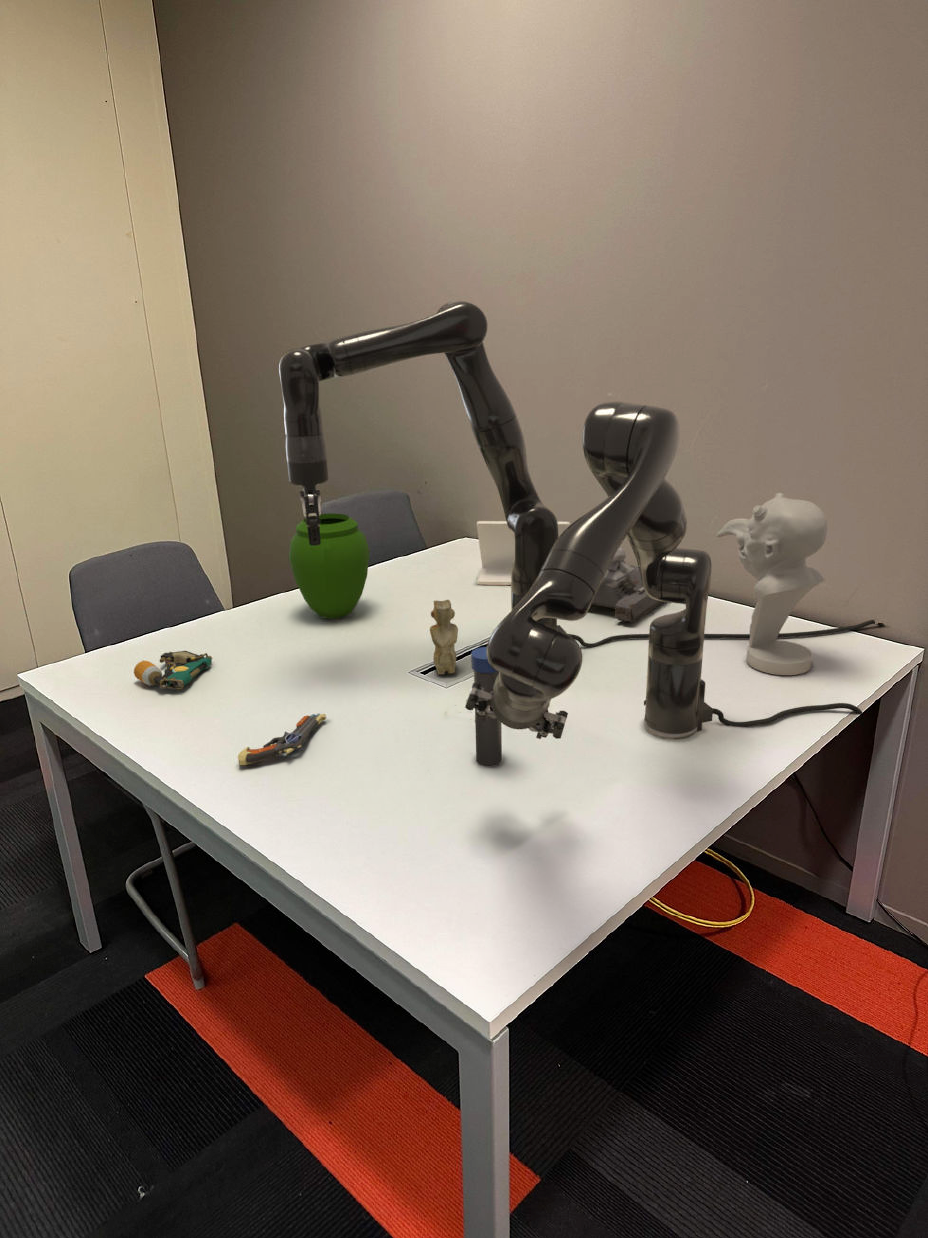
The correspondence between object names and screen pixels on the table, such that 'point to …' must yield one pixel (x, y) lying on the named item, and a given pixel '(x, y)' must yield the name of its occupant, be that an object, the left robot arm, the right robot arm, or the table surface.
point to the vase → (330, 565)
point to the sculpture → (444, 637)
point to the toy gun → (282, 741)
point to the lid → (481, 661)
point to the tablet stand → (499, 551)
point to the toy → (624, 591)
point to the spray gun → (172, 669)
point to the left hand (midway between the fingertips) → (314, 539)
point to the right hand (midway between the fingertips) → (512, 723)
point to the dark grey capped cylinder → (487, 727)
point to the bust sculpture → (778, 575)
